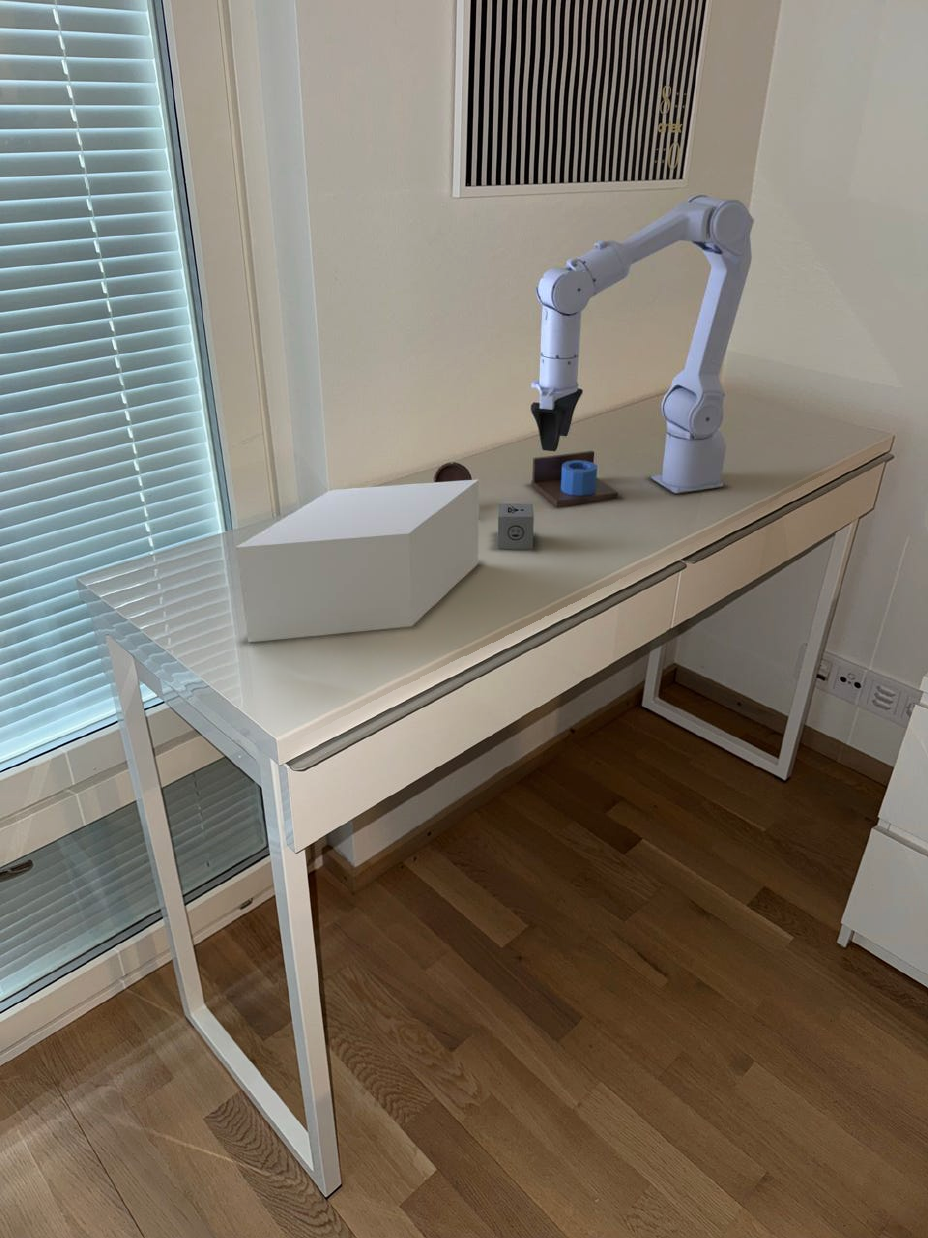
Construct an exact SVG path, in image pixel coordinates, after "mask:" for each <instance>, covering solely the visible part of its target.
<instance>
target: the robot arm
mask: <svg viewBox="0 0 928 1238" xmlns="http://www.w3.org/2000/svg"><path fill="white" fill-rule="evenodd" d="M754 222H755V219H754V218H753V216H752V215H751V213H750V211H749V209H748V208H747V207H746V205H745V204H744V203H743V202H742V201H741V200H738V199H734V198H733V199H727V198H719V197H712V196H708V195H706V194H696V195H694V196H692V197H690V198H688V200H686V201H682V202H680V203H677V204H676V205H675V206H674V207H673V208H672V209H671V210H670V211H668V212H667V213H665V214H664V215H662V216H661V217H659V218H658V219H656V220H654V221H653V222H651V223H650V224H648V225H646V226H645V227H643V228H642V229H641V230H639V231H637V232H636V233H634V234H633V235H631V236H629V237H628V238H627V239H625V240H623V241H622V242H621V243H620V242H618V241H617V240H613V239H609V240H607V241H606V240H604V239H603V240H602V239H600V240H598V241H596V242H595V243H594V245H593V246H594V248H593V249H591V250H589V251H588V252H586V253H584V254H582V255H581V256H578V257H577V258H574V257H571V258H570V259H567V260H566V265H565V267H559V266H556V267H552V268H550V269H547V271H545V272H544V274H542V276H543V277H541V278H540V279H539V282H538V286H537V287H535V295H536V298H537V300H538V302H539V303H540V304H541V306H542V309H541V310H542V311H541V328H540V329H541V330H540V331H541V332H540V352H539V353H540V354H539V356H540V357H539V380H538V379H537V380H535V379H534V380H533V381H532V382H531V388H533V389H537V390H538V393H539V402H532V403H531V405H530V412H531V414H532V416H533V418H534V420H535V422H536V426H537V430H538V435H539V440H540V445H541V449H542V451H548V452H556V451H557V449H558V447H559V442H560V437H567V436H568V435H569V433H570V428H571V425H572V421H573V416H574V413H575V410H576V407H577V405H578V402H579V400H580V398H581V397H582V395H583V391H584V390H583V388H579V382H578V374H579V357H580V340H581V324H582V323H581V322H582V311H584V309H586V307H587V305H588V304H589V301H590V299H592V298H593V297H595V296H597V295H598V294H600V293H602V292H604V291H605V290H607V289H609V288H610V287H612V286H614V285H615V284H617V283H619V282H620V281H622V280H624V279H626V278H627V277H628V275H629V273H630V271H631V267H632V265H634V264H635V263H638V262H639V261H641V260H643V259H645V258H647V257H649V256H652V255H653V254H656V253H657V252H659V251H662V250H663V249H666V248H667V247H669V246H671V245H673V244H675V243H677V242H679V241H684V242H685V241H686V242H691V243H692V244H694V246H696V247H697V248H698V249H700V250H701V251H702V253H703V255H704V256H705V258H706V259H707V261H708V263H709V264H710V266H711V269H710V273H709V276H708V280H707V284H706V288H705V291H704V295H703V299H702V302H701V307H700V310H699V314H698V317H697V322H696V324H695V328H694V332H693V336H692V339H691V343H690V346H689V347H690V348H689V351H688V355H687V359H686V362H685V365H684V369H682V371H680V372H678V374H677V375H675V376H674V377H673V379H672V382H671V385H670V388H669V389H668V391H667V392H666V394H664V397H663V398H662V401H661V407H660V409H661V414H662V416H663V418H664V419H665V420H666V434H665V435H666V436H665V445H664V454H663V461H662V462H663V463H662V471H661V472H662V473H659V474H653V475H651V477H650V479H651V480H653V481H655V482H656V483H658V484H659V485H660V486H663V487H664V488H666V489H667V490H668V491H670V492H672V493H673V494H684V493H691V492H698V491H704V490H710V489H711V490H712V489H717V488H723V487H724V483H723V482H722V477H723V471H724V464H725V457H726V441H725V437H724V435H723V434H722V432H720V431H719V429H720V427H721V425H722V424H723V420H724V414H725V413H724V412H725V411H724V399H725V395H726V392H725V389H724V387H723V385H722V382H721V379H720V373H721V369H722V366H723V362H724V359H725V356H726V352H727V348H728V345H729V341H730V339H731V334H732V331H733V327H734V323H735V320H736V318H737V317H736V316H737V313H738V310H739V306H740V304H741V299H742V296H743V292H744V289H745V285H746V282H747V279H748V275H749V272H750V268H751V264H752V258H753V256H752V244H751V243H752V242H751V232H752V229H753V226H754Z"/></svg>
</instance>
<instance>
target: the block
mask: <svg viewBox="0 0 928 1238" xmlns="http://www.w3.org/2000/svg"><path fill="white" fill-rule="evenodd" d="M479 521H480V479H472V480H463V481H449V482H435V483H434V482H423V483H421V482H420V483H410V484H395V485H382V486H381V485H380V486H367V487H365V486H364V487H352V488H340V489H330V490H328V491H326V492H325V493H323V494H322V495H320V496H318V497H317V498H315V499H313V500H312V501H310V502H309V503H306V504H305V505H303V506H302V507H300V508H298V509H297V510H295V511H293V512H292V513H290V514H288V515H287V516H285V517H284V518H282V519H280V520H278V521H277V522H275V523H274V524H272V525H270V526H268V527H267V528H265V529H263V530H262V531H260V532H259V533H257V534H255V535H254V536H252V537H250V538H249V539H247V540H245V541H244V542H242V543H240V544H239V545H237V546H235V551H236V560H237V567H238V575H239V581H240V589H241V597H242V604H243V611H244V612H243V613H244V620H245V626H246V627H245V628H246V634H247V635H246V636H247V641H248V643H255V642H266V641H275V640H285V639H286V640H288V639H297V638H298V639H299V638H306V637H316V636H317V637H318V636H328V635H337V634H347V633H348V634H349V633H357V632H367V631H368V632H369V631H377V630H387V629H398V628H399V629H400V628H408V627H412V626H414V625H415V624H416V623H417V622H418V621H419V620H420V619H421V618H422V617H423V616H424V615H425V614H427V613H428V612H429V610H431V609H432V608H433V607H434V606H435V605H436V604H437V603H438V602H439V601H440V600H441V599H442V598H443V597H445V596H446V595H447V594H448V593H449V592H450V591H451V590H452V589H453V588H454V587H455V586H456V585H457V584H459V582H460V581H462V580H463V579H464V578H465V576H467V574H469V573H470V572H472V570H473V569H474V568H475V567H476V566H477V565H478V564H479V537H480V536H479V528H480V527H479V526H480V525H479V524H480V523H479Z"/></svg>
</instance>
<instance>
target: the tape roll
mask: <svg viewBox="0 0 928 1238" xmlns="http://www.w3.org/2000/svg"><path fill="white" fill-rule="evenodd" d="M576 469H584V470H576ZM597 475H598V465H597V464H596V463H592V462H588V461H581V460H574V461H567V462H565V463H563V465H562V476H561V490H562V491H563V492H564V493H567V494H570V495H578V496H584V495H590V494H592V493H594V492H595V490H596V477H597V478H598V476H597Z"/></svg>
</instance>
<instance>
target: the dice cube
mask: <svg viewBox="0 0 928 1238" xmlns="http://www.w3.org/2000/svg"><path fill="white" fill-rule="evenodd" d="M497 504H498V508H497V512H498V513H497V550H533V546H534V521H535V516H534V504H533V503H512V502H511V503H509V502H508V503H505V502H498V503H497Z"/></svg>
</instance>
